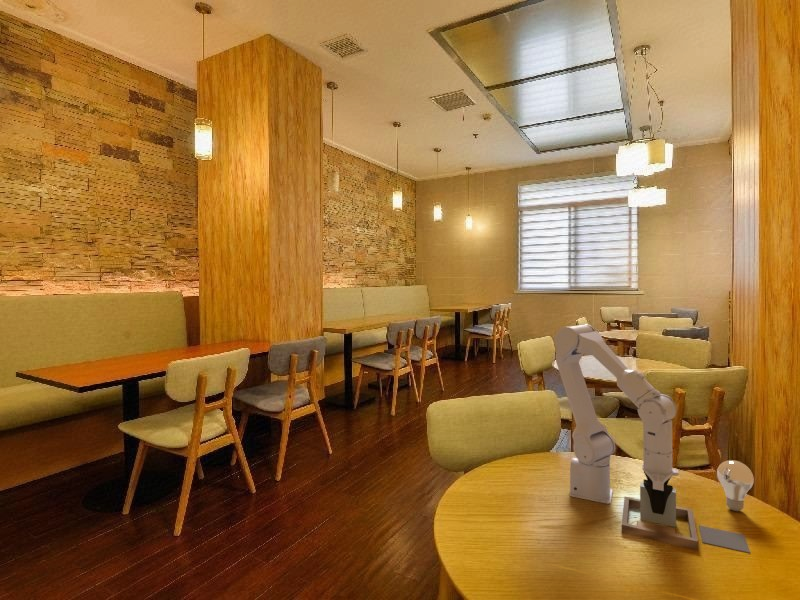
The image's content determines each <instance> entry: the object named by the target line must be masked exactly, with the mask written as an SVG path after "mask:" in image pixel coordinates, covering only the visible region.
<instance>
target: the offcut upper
mask: <svg viewBox="0 0 800 600" xmlns="http://www.w3.org/2000/svg"><path fill="white" fill-rule="evenodd" d="M636 526H640V527H645V528H649V529H654V530H659V531H663V532H668V533H672V534H676V533H677V532H676V531H675V527H674V526H669V525H664V524H658V523H653V522H647V521H640V520H636Z"/></svg>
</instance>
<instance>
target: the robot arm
mask: <svg viewBox="0 0 800 600" xmlns="http://www.w3.org/2000/svg"><path fill="white" fill-rule="evenodd" d="M553 342H554V345H555V362H556V366H557V368H558V372H559V376H560V378H561V381H562V385H563V388H564V391H565V394H566V397H567V401H568V404H569V406H570V410H571V413H572V415H573V418H574V421H575V425H576V426H575V428H574V430H573V432H572V435H571V436H572V439H573V446H572V447H573V449H572V450H573V453H574V455H575V456H573V457H571V459H570V464H569V465H570V467H569V471H570V472H569V474H570V475H569V485H570V488H569V489H570V491H569V492H570V493H569V495H570V497H573V498H577V499H582V500H586V501H592V502H595V503H602V504H605V505H611V503H612V497H613V493H614V490H613V489H612V488H611V465H610V464H611V463H610V462H611V455H613V454H614V452H615V451H616V443H615V440H614V438H613V437H612V436H611V435H610V433H609V431H608V429H607V427H606V425H604V424H603V423H602V422H600V421H599V419H598V417H597V414H596V411H595V408H594V404H593V402H592V398H591V395H590V393H589V390H588V387H587V384H586V380H585V378H584V374H583V371H582V368H581V365H580V360H581V359H582V357H583V355H589V356H590V355H591V356H592V357H594V358H595V360H596V361H598V362H599V363H600V364H601V366H603V367H604V368H605V369H606V370H607V371H609V373H610V374H612V375H613V376H614V377H615V378H616V386H617V388H619V389H620V391H622V393H623V394H624V395H625V396H626V397H627V398H628V400H630V401H631V402H632V403H633V405H635V406H636V408H637V414H638V416H639V418H640V419H641V421H642V431H643V433H642V435H643V436H642V437H643V438H642V439H643V441H642V443H643V444H642V445H643V446H642V447H643V448H642V449H643V450H642V451H643V453H642V456H643V458H642V460H643V461H642V463H643V464H642V466H641V468H642V471H643V474H644V476H645V477H646V479H645V478H644V479H643V483H644V487H645V488H646V490H647V492H648V495H649V498H650V504H651V508H652V512H653V513H657V514H662V515H663V514H664V511H665V507H666V502H667V499H668V497H669V495H670V493H671V492H672V490H673V488H674V486H673V485H669V484H668V483H669V481H670V479H671V478H672V476H676V477H678V476H679V470H678V469H675V468H673V420H672V419H674V418H675V417H676V415H677V412H678V407H677V405H676V402H675V401H674V400H673V399H672V397H671V396H669V395H667V394H664V393H661V391H660V390H658V389H656V388H655V387H654V386H652V384H650V382H649V381H648V380H646V378H645V377H646V375H644V373H643V372H639V371H638V370H636V369H630V368H628V367H627V366H626V365H625V364H624V362H623V361H622V360H621V359H620V358H619V357H618V356H617V354H615V352H614V351H613V350H612V349H611V348H610V347H609V346H608V344H607V343H606V342H605V341H604V338H603V336H602V335H601V333H600V332H598V331H597V330H596V329H595V328H594V326H592V325H590V324H588V323H583V324H580V325H578V324H577V325H573V326H572V325H570V326H562V327H561V328H559V329H558V330H557V332H556V334H555V336H554V337H553Z"/></svg>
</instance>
